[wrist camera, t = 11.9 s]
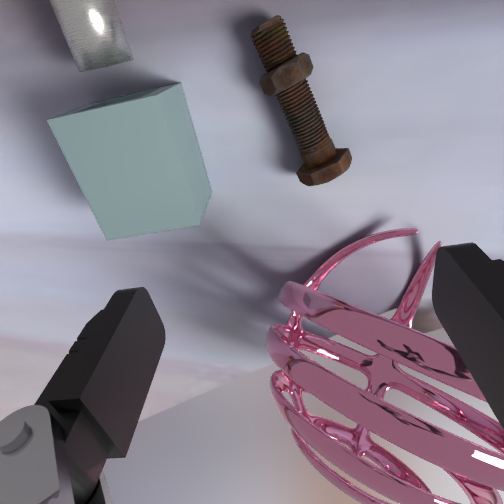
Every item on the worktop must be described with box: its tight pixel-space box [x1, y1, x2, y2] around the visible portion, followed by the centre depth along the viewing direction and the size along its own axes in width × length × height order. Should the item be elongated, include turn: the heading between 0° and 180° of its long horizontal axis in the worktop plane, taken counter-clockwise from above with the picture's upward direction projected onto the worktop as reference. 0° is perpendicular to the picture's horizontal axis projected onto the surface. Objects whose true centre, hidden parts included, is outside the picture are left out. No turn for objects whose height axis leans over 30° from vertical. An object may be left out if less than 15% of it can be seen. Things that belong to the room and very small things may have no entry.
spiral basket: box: [266, 228, 504, 504], centre depth 35 cm, size 28×28×27 cm
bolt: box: [251, 15, 352, 186], centre depth 33 cm, size 6×5×15 cm
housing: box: [47, 83, 212, 240], centre depth 34 cm, size 10×12×8 cm
